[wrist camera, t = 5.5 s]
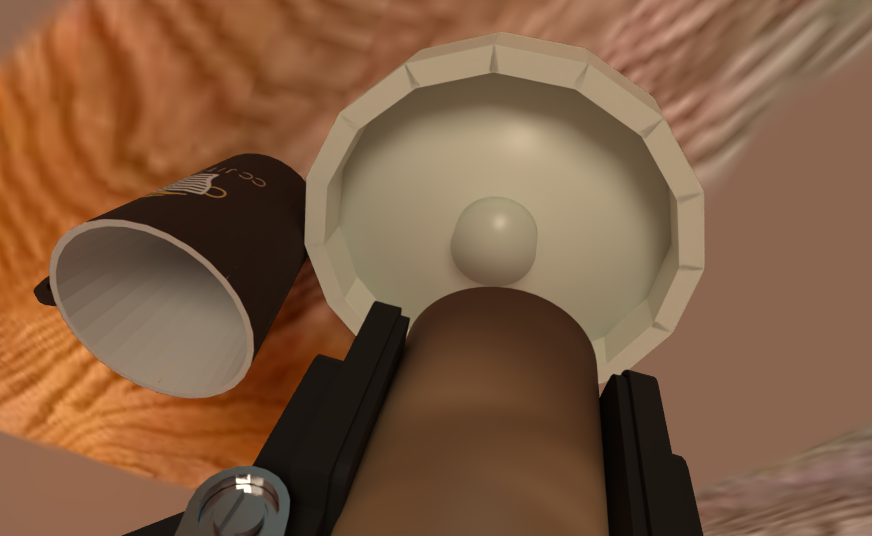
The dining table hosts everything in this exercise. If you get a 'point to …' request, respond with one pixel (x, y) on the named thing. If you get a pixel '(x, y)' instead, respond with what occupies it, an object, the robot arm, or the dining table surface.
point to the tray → (509, 193)
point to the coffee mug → (184, 276)
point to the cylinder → (486, 427)
